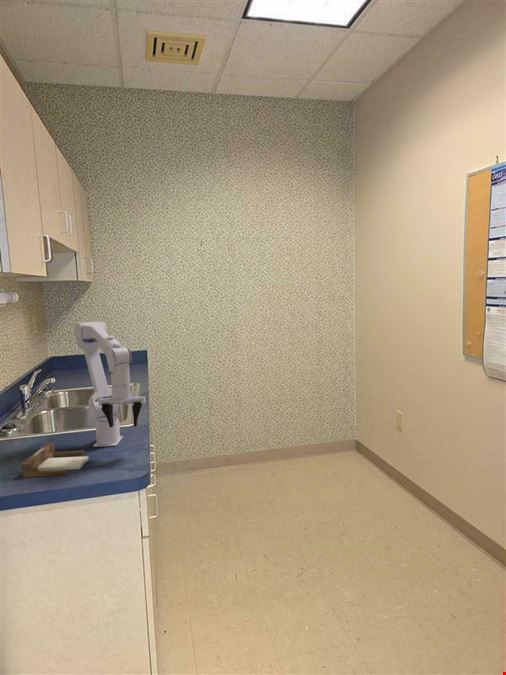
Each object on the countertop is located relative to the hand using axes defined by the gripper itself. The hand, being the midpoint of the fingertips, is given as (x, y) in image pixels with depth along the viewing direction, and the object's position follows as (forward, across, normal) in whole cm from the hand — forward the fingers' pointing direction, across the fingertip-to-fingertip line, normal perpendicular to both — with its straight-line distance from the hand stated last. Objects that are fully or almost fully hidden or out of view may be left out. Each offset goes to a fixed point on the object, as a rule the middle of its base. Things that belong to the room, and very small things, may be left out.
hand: (123, 426), depth 140 cm
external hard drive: (+10, -17, -6) cm, 21 cm away
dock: (+9, -20, -6) cm, 23 cm away
